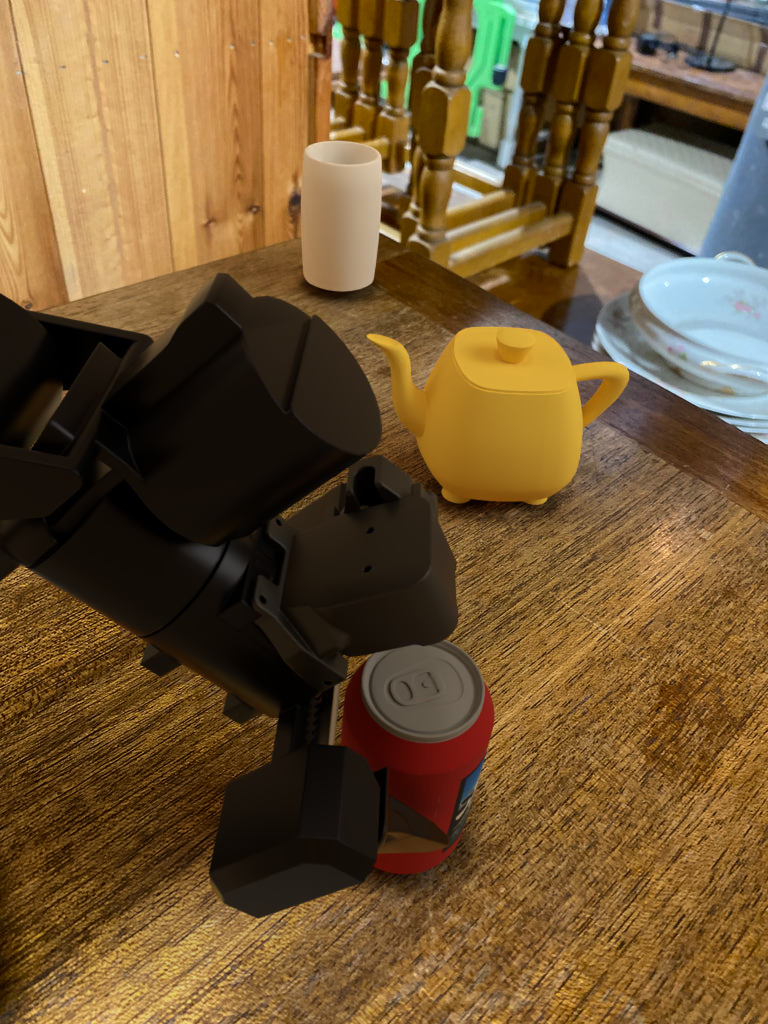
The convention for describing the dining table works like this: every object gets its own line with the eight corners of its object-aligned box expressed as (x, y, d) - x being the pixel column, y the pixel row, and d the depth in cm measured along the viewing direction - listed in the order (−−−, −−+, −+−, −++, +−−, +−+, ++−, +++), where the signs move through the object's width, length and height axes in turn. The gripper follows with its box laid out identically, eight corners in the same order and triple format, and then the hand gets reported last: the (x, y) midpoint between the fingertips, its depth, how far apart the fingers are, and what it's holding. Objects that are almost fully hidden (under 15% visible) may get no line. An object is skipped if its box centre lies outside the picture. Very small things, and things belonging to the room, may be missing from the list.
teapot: (357, 418, 68) (364, 286, 60) (579, 425, 70) (616, 297, 62) (360, 522, 58) (370, 381, 50) (619, 527, 60) (670, 391, 52)
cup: (329, 310, 83) (333, 172, 74) (285, 279, 88) (283, 146, 78) (391, 291, 87) (402, 159, 78) (346, 263, 92) (351, 135, 82)
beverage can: (485, 855, 40) (530, 725, 32) (362, 902, 38) (378, 775, 30) (431, 745, 45) (459, 607, 37) (319, 781, 43) (323, 643, 35)
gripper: (303, 703, 19) (631, 916, 26) (354, 326, 33) (559, 536, 40) (47, 835, 24) (383, 981, 31) (185, 460, 38) (395, 624, 45)
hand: (439, 749), depth 37 cm, fingers open, 9 cm apart
